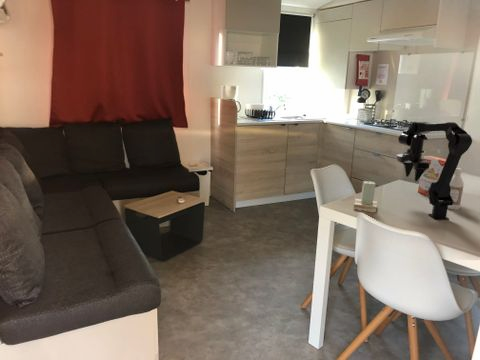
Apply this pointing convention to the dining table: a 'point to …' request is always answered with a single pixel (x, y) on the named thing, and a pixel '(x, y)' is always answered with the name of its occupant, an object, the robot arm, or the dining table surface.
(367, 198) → the tea tin
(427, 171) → the cracker box
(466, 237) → the dining table surface
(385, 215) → the dining table surface
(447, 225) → the dining table surface
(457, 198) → the bath foam
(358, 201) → the birch block
